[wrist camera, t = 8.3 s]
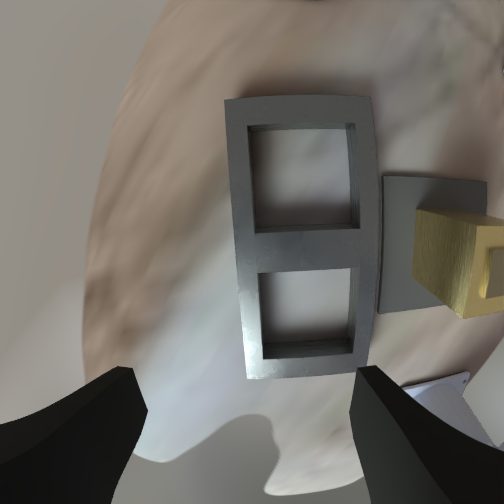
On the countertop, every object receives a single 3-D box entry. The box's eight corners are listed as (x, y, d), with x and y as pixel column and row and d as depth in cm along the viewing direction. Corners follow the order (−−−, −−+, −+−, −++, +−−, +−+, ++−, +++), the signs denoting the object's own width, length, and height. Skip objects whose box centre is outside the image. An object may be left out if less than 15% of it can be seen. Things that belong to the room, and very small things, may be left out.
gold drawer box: (460, 272, 17) (518, 309, 10) (411, 276, 17) (465, 321, 10) (466, 210, 16) (532, 228, 9) (415, 209, 16) (481, 227, 9)
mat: (473, 297, 17) (476, 299, 17) (377, 311, 18) (378, 313, 18) (483, 181, 15) (486, 182, 15) (381, 175, 16) (383, 175, 16)
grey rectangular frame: (358, 354, 19) (365, 370, 17) (249, 361, 20) (247, 378, 18) (360, 105, 15) (370, 97, 13) (229, 108, 16) (224, 99, 14)
